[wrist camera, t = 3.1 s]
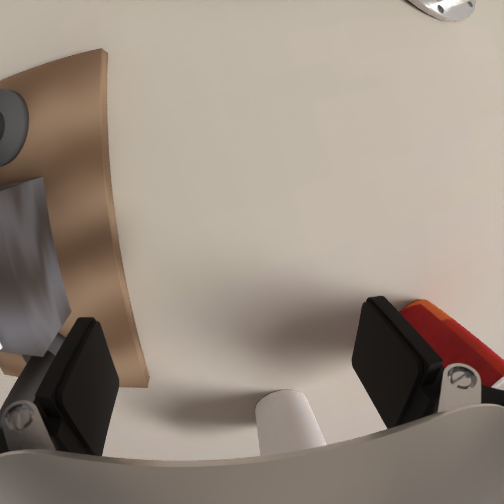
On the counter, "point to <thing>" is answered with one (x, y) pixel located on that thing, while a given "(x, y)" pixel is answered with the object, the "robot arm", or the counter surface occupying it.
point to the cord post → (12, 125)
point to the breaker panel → (63, 221)
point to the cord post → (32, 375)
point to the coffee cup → (455, 342)
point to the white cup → (286, 423)
